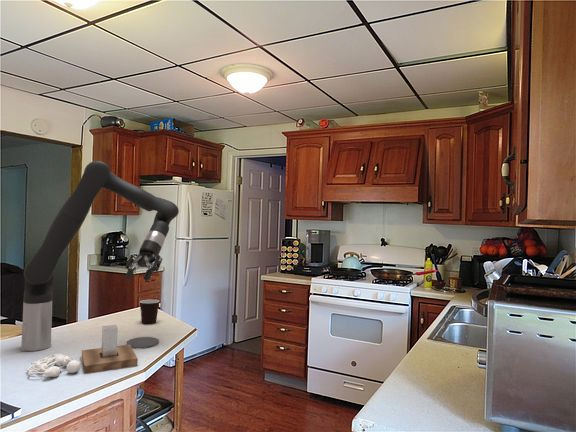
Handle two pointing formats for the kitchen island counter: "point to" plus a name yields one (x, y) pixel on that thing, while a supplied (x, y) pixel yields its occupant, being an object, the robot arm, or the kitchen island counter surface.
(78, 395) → the kitchen island counter surface
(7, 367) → the kitchen island counter surface
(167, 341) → the kitchen island counter surface
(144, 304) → the coffee mug
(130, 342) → the rubber pad
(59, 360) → the tangled rod sculpture
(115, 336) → the steel peg
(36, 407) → the kitchen island counter surface
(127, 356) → the socket block
